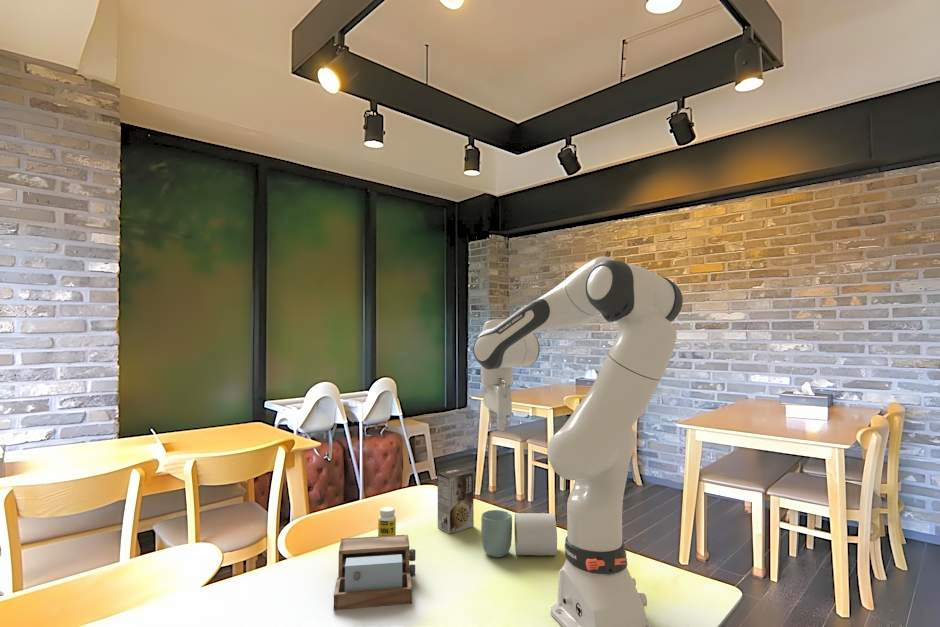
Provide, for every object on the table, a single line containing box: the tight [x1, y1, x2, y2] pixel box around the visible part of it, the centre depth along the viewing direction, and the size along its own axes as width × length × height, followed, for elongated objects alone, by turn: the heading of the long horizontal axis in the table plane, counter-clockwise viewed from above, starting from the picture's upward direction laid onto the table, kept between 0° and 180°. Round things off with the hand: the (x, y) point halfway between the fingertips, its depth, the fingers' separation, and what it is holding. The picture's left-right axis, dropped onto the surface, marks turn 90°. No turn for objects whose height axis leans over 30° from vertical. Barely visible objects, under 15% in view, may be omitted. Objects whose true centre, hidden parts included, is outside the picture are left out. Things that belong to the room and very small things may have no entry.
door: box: [345, 554, 402, 592], centre depth 110 cm, size 5×12×8 cm, turn 100°
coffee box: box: [437, 467, 475, 535], centre depth 151 cm, size 9×6×16 cm
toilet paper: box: [513, 512, 558, 556], centre depth 133 cm, size 10×10×10 cm
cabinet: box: [333, 534, 416, 610], centre depth 115 cm, size 18×17×8 cm
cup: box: [480, 509, 513, 558], centre depth 132 cm, size 8×8×10 cm
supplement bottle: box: [377, 506, 397, 537], centre depth 141 cm, size 5×5×8 cm
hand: (496, 427), depth 141 cm, fingers open, 8 cm apart
